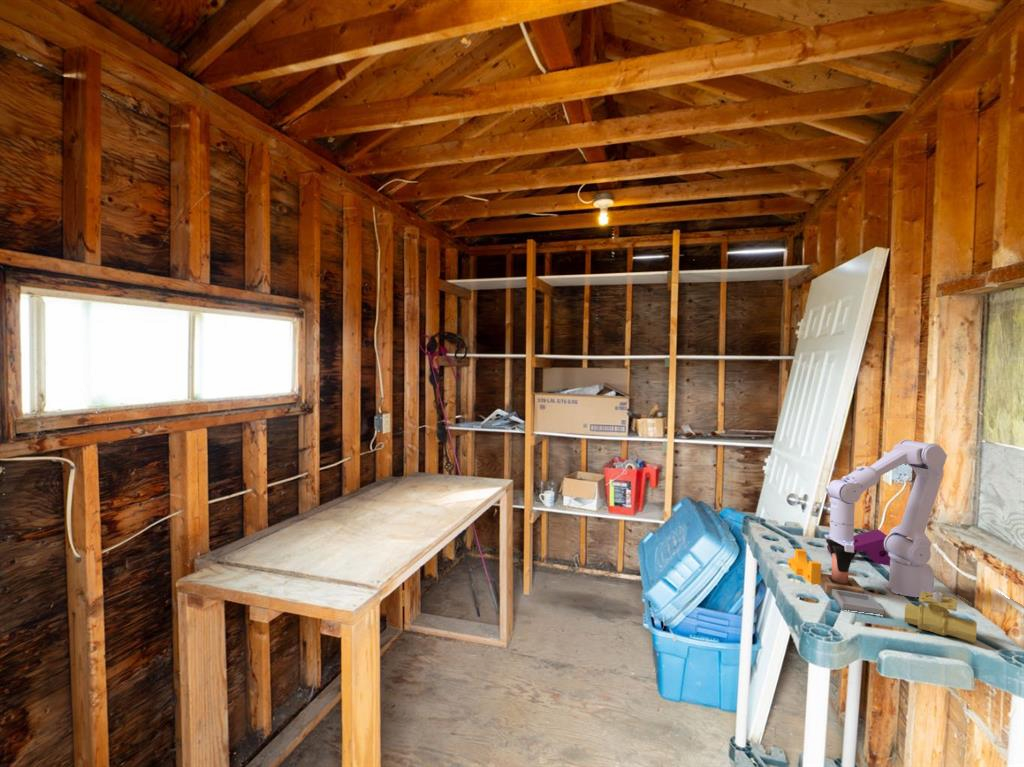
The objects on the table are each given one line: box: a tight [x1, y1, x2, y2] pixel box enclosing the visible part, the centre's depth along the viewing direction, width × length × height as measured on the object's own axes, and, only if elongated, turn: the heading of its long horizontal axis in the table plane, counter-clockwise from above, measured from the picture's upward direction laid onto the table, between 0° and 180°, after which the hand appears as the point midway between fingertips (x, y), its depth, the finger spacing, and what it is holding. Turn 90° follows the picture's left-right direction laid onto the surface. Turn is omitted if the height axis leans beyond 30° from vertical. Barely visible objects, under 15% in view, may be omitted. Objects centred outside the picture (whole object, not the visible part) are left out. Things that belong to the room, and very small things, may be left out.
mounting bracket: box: [826, 528, 890, 566], centre depth 161 cm, size 9×8×18 cm
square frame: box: [819, 572, 866, 595], centre depth 134 cm, size 9×9×2 cm
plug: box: [831, 553, 849, 583], centre depth 134 cm, size 4×4×7 cm
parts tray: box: [831, 589, 885, 616], centre depth 124 cm, size 9×9×2 cm
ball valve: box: [904, 591, 978, 644], centre depth 113 cm, size 13×10×10 cm
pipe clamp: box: [787, 548, 822, 586], centre depth 143 cm, size 12×4×6 cm, turn 169°
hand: (840, 568), depth 134 cm, fingers closed on plug, 4 cm apart
